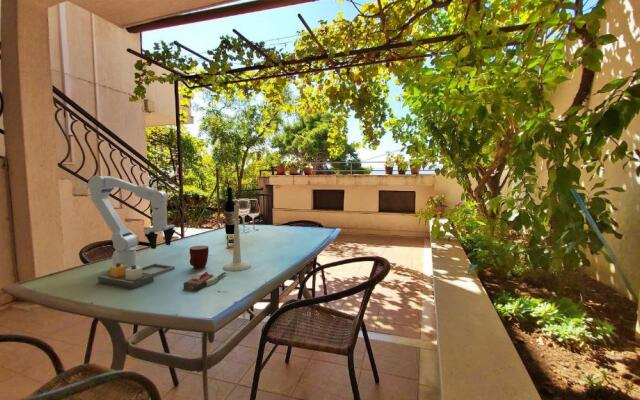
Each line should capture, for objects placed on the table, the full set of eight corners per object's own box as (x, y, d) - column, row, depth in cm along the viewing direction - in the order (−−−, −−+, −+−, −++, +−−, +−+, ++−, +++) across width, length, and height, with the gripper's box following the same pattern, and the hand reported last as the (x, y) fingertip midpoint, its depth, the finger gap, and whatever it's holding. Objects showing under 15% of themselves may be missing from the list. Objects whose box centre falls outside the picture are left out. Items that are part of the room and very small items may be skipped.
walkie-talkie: (201, 293, 111) (227, 275, 130) (201, 281, 110) (227, 266, 130) (180, 291, 112) (209, 274, 132) (179, 280, 112) (208, 264, 131)
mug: (201, 273, 132) (201, 251, 131) (184, 272, 133) (183, 250, 132) (211, 266, 143) (211, 245, 142) (195, 265, 143) (194, 245, 142)
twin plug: (125, 284, 116) (125, 266, 116) (135, 281, 120) (134, 263, 119) (133, 286, 115) (132, 267, 114) (142, 282, 118) (142, 264, 118)
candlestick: (256, 265, 145) (255, 203, 143) (238, 272, 133) (237, 205, 131) (236, 261, 150) (235, 202, 148) (217, 268, 139) (215, 204, 137)
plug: (110, 281, 119) (109, 264, 119) (120, 278, 123) (119, 261, 122) (117, 283, 118) (116, 265, 117) (127, 279, 121) (126, 262, 121)
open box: (98, 283, 118) (98, 276, 118) (120, 276, 126) (120, 269, 126) (132, 290, 111) (132, 282, 111) (153, 282, 120) (153, 275, 119)
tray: (131, 274, 129) (130, 270, 129) (155, 267, 140) (155, 263, 140) (151, 278, 125) (151, 274, 125) (174, 270, 136) (174, 266, 136)
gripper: (152, 219, 128) (153, 251, 129) (179, 215, 141) (180, 244, 142) (140, 219, 130) (141, 249, 131) (168, 215, 144) (169, 243, 145)
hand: (160, 246), depth 137 cm, fingers open, 7 cm apart
